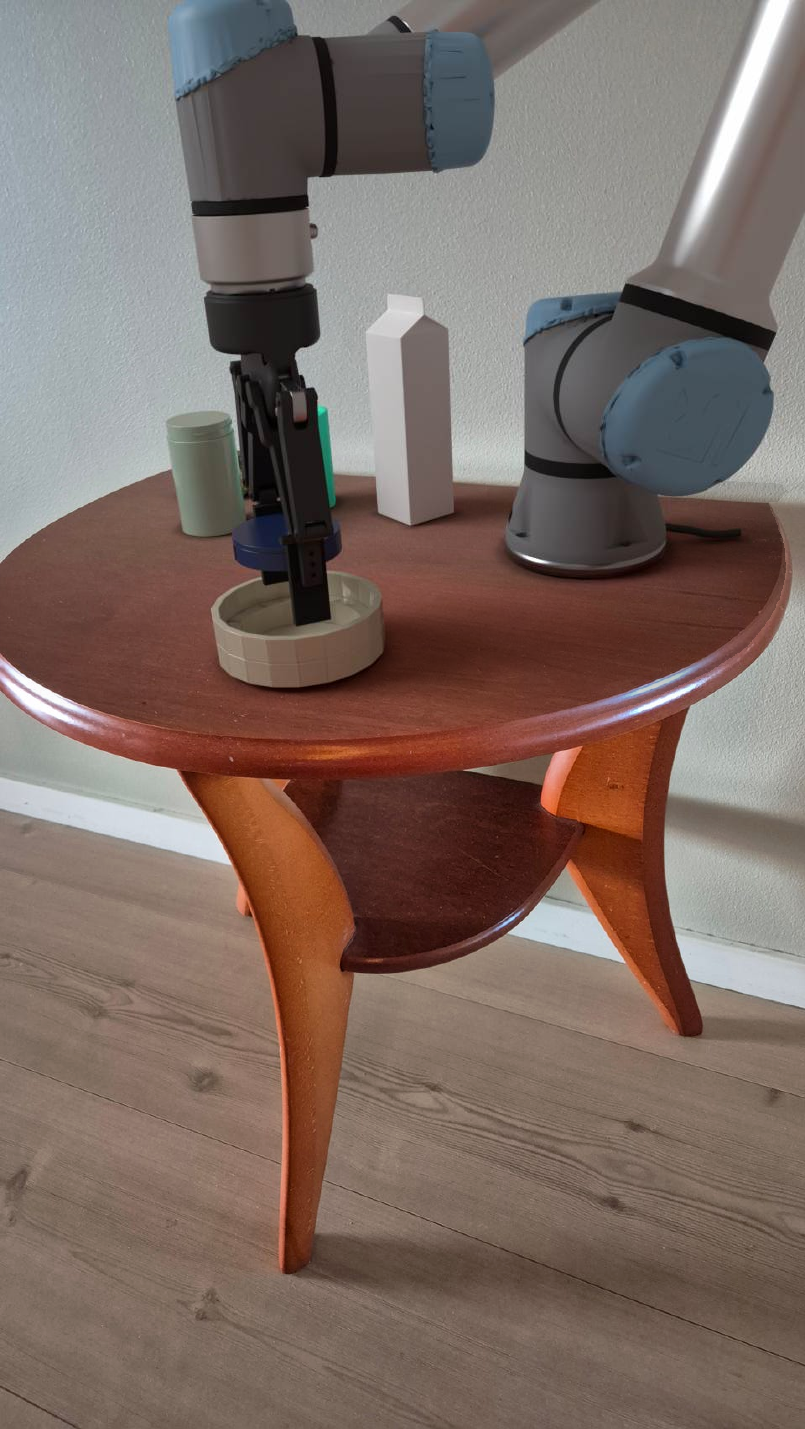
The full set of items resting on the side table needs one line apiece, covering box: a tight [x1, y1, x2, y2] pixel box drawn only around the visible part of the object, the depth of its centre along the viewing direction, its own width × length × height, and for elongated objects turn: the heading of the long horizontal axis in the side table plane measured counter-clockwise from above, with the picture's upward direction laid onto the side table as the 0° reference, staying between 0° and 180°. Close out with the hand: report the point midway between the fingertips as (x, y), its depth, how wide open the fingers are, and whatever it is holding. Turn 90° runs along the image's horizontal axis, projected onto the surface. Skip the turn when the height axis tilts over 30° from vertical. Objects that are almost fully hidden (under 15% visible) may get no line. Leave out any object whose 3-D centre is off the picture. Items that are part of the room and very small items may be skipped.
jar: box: [165, 410, 248, 538], centre depth 105 cm, size 7×7×12 cm
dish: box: [210, 570, 386, 688], centre depth 78 cm, size 13×13×4 cm
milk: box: [365, 293, 455, 527], centre depth 102 cm, size 6×6×22 cm
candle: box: [318, 405, 337, 509], centre depth 109 cm, size 6×6×12 cm
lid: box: [231, 512, 343, 572], centre depth 74 cm, size 8×8×2 cm
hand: (295, 600), depth 77 cm, fingers closed on lid, 8 cm apart
